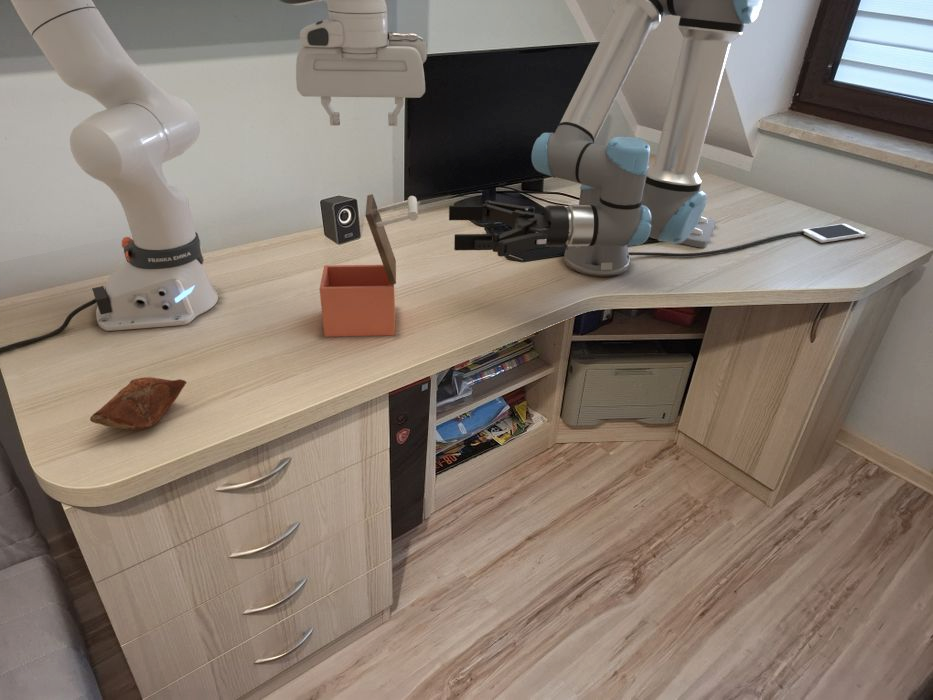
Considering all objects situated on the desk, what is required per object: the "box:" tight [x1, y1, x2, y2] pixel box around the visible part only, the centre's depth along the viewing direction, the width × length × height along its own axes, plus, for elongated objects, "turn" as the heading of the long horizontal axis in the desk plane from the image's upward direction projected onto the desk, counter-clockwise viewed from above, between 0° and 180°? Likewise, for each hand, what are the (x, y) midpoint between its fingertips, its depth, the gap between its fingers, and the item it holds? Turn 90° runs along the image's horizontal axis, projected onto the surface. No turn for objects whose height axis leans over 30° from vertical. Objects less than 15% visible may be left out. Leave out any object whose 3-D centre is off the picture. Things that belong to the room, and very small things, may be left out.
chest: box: [319, 264, 396, 338], centre depth 123 cm, size 13×10×10 cm
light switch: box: [679, 215, 716, 249], centre depth 169 cm, size 18×3×15 cm
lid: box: [365, 193, 419, 285], centre depth 116 cm, size 14×10×9 cm
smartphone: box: [801, 223, 866, 244], centre depth 171 cm, size 7×16×1 cm, turn 111°
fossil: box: [89, 376, 188, 431], centre depth 97 cm, size 13×8×10 cm
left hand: (364, 124), depth 105 cm, fingers open, 8 cm apart
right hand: (451, 226), depth 116 cm, fingers open, 13 cm apart
